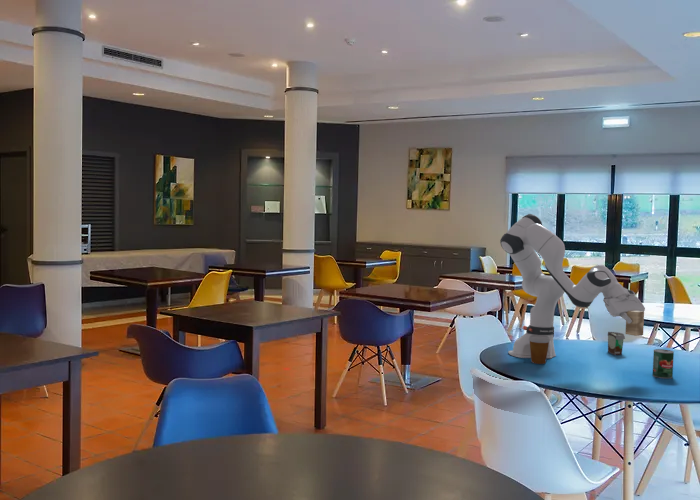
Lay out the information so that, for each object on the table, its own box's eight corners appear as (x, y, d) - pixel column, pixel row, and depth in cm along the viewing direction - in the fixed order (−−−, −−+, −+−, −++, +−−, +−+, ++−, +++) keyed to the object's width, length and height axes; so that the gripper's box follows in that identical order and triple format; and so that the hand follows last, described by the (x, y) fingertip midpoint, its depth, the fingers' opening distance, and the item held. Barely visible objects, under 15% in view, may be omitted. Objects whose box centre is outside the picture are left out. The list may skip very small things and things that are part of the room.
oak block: (635, 335, 289) (636, 312, 289) (625, 334, 294) (626, 310, 293) (643, 334, 292) (644, 311, 292) (632, 333, 296) (633, 310, 296)
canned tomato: (666, 379, 289) (667, 353, 289) (648, 375, 296) (649, 350, 295) (676, 377, 294) (677, 351, 294) (658, 373, 300) (659, 348, 300)
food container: (628, 356, 339) (629, 335, 339) (615, 355, 340) (616, 335, 339) (619, 351, 352) (619, 331, 351) (606, 351, 352) (607, 331, 351)
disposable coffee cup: (550, 365, 312) (551, 339, 312) (528, 363, 314) (529, 337, 314) (548, 361, 322) (549, 335, 321) (527, 359, 323) (528, 334, 323)
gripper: (606, 292, 292) (625, 319, 284) (636, 291, 303) (655, 316, 296) (596, 302, 296) (615, 328, 288) (626, 300, 307) (645, 325, 299)
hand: (636, 322), depth 292 cm, fingers closed on oak block, 5 cm apart
